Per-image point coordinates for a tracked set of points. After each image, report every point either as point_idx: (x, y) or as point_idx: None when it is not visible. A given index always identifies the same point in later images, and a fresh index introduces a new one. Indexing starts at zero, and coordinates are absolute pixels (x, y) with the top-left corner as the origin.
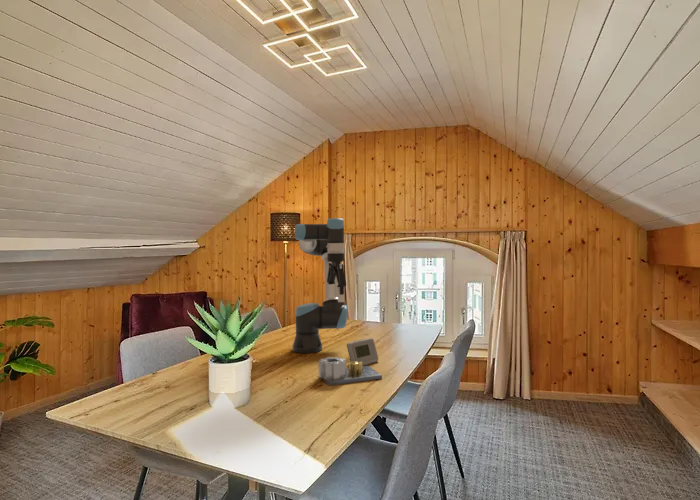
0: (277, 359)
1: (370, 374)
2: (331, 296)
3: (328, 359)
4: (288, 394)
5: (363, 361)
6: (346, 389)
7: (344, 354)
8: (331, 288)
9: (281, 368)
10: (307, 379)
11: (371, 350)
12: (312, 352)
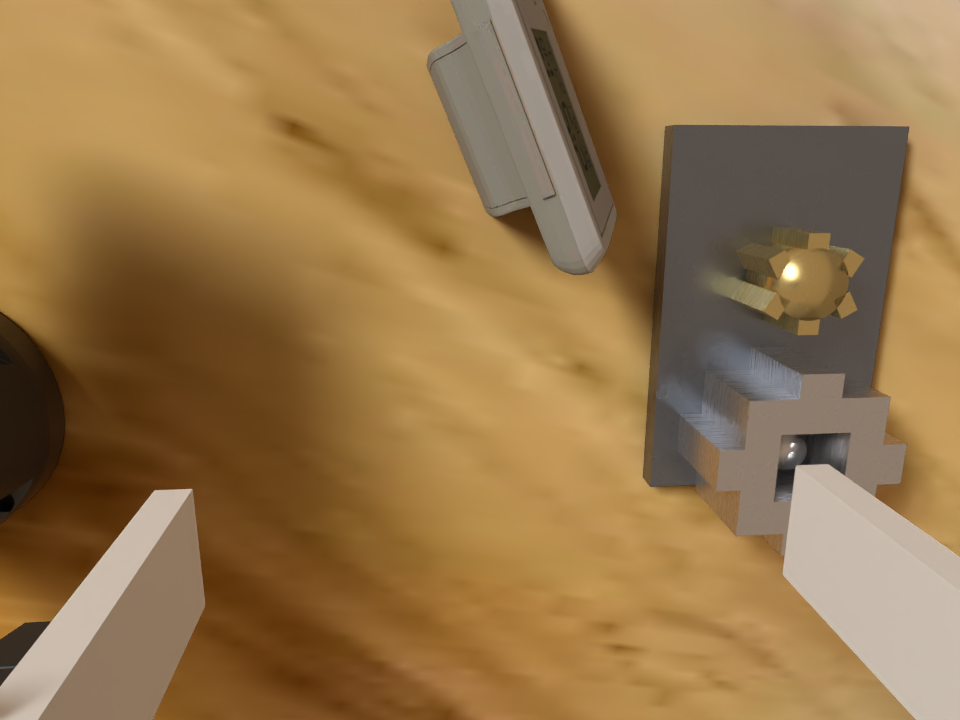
0: (182, 657)
1: (860, 195)
2: (186, 581)
3: (775, 485)
4: (862, 672)
5: (587, 128)
6: (943, 398)
7: (183, 151)
8: (115, 718)
9: (413, 656)
10: (688, 553)
11: (534, 6)
12: (60, 397)
